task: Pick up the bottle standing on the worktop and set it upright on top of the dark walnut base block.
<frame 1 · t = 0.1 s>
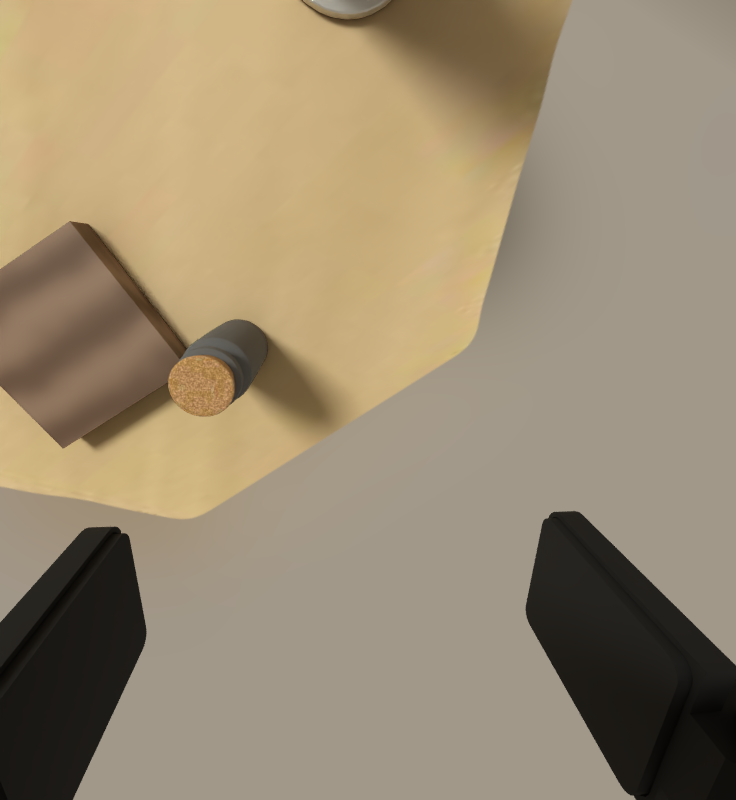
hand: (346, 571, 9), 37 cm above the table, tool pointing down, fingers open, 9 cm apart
base: (83, 338, 42), on the table
bottle: (240, 345, 44), on the table
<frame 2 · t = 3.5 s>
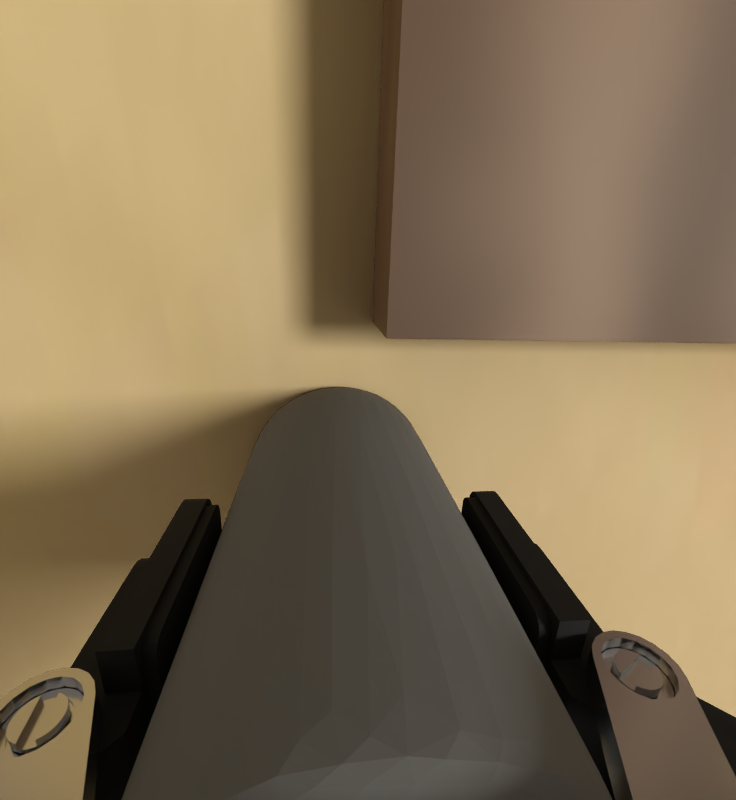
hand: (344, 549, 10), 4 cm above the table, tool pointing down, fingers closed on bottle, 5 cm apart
base: (679, 25, 11), on the table
bottle: (338, 462, 14), on the table, touching gripper
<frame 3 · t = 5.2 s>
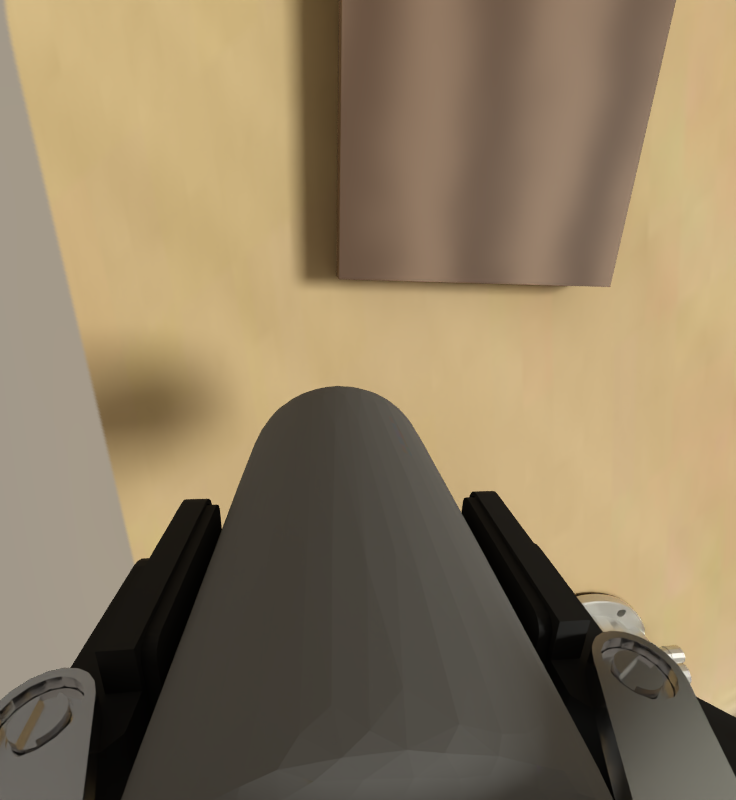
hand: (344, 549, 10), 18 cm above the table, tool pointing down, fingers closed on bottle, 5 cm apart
base: (478, 133, 23), on the table
bottle: (338, 461, 14), point 13 cm above the table, touching gripper
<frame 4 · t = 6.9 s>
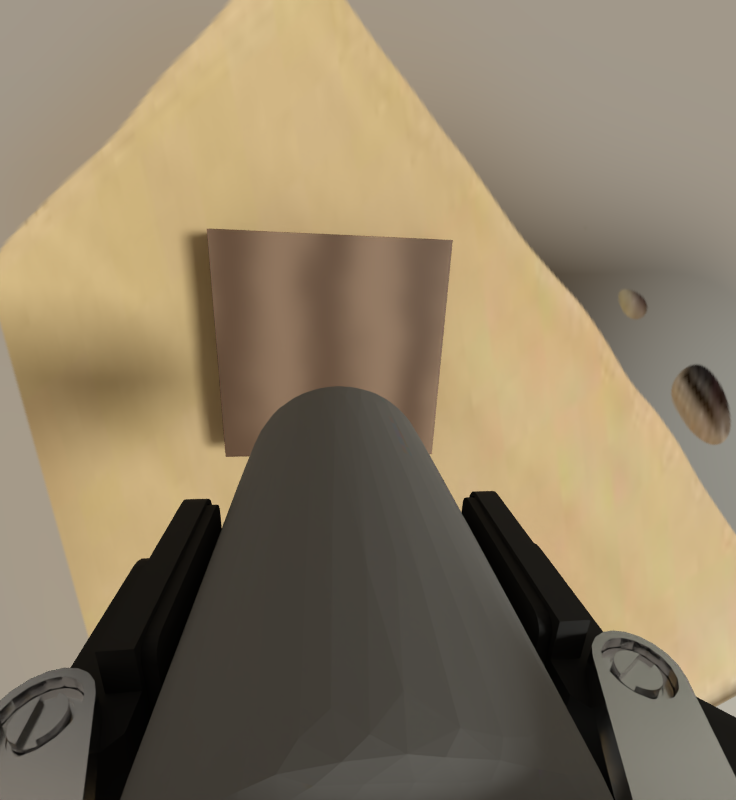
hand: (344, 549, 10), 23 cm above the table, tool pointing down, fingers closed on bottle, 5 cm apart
base: (331, 346, 32), on the table
bottle: (338, 461, 14), point 19 cm above the table, touching gripper
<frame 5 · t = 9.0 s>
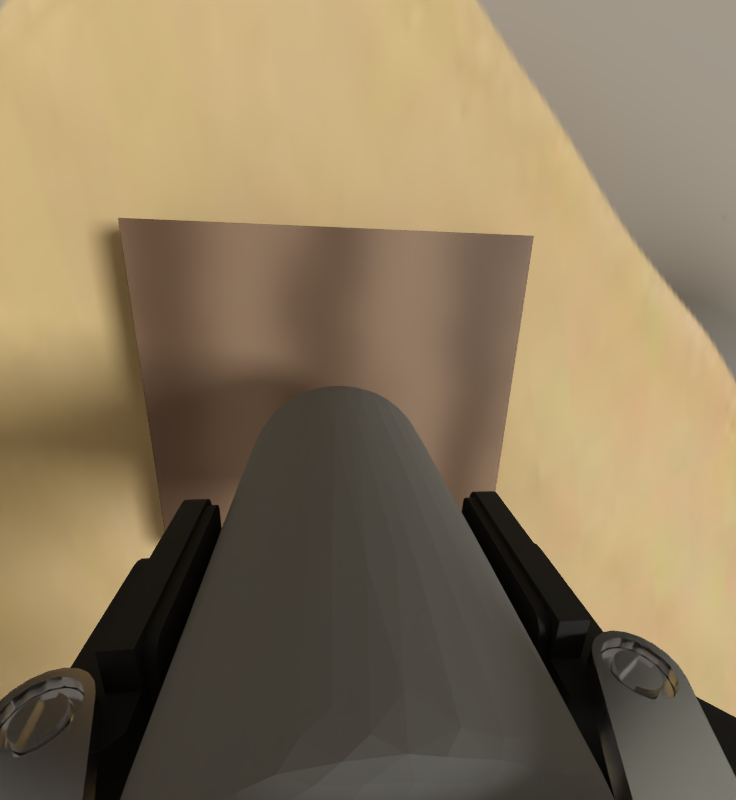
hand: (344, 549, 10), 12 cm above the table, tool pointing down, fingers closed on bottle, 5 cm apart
base: (334, 398, 21), on the table
bottle: (338, 461, 14), point 7 cm above the table, touching gripper
when the fingers open (9 cm above the table, at t = 10.5 s): bottle drops 1 cm, resting on base.
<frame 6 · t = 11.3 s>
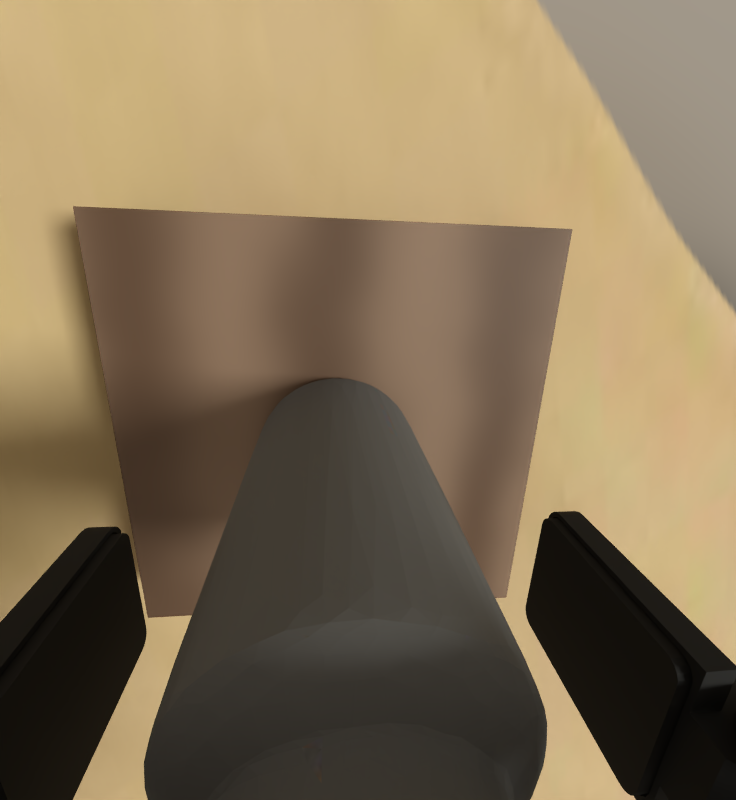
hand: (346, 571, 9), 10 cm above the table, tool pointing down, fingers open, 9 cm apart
base: (334, 416, 18), on the table
bottle: (336, 446, 16), point 3 cm above the table, touching base
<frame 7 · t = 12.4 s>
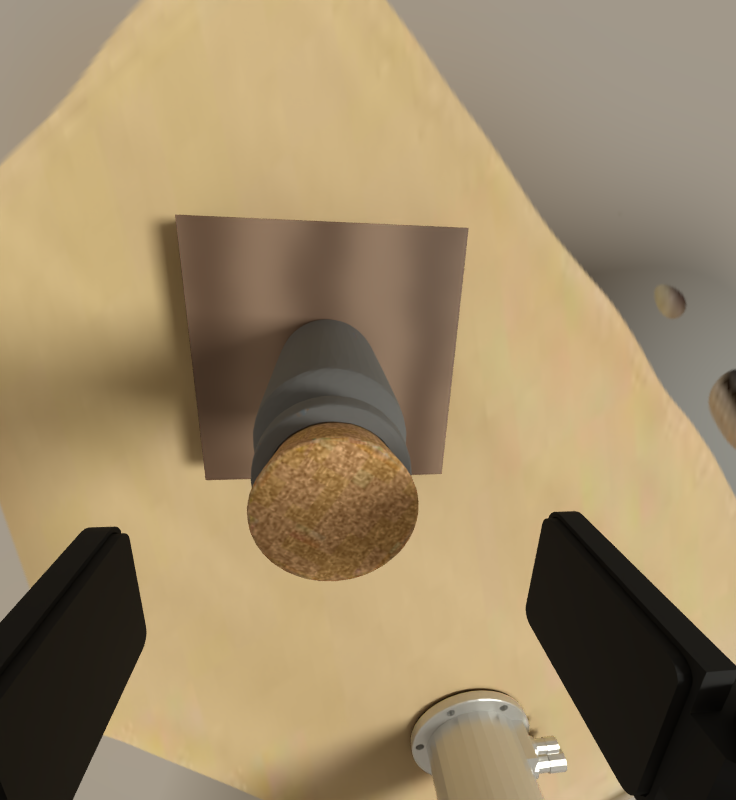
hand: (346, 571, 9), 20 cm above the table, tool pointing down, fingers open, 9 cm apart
base: (326, 351, 28), on the table
bottle: (327, 364, 25), point 3 cm above the table, touching base
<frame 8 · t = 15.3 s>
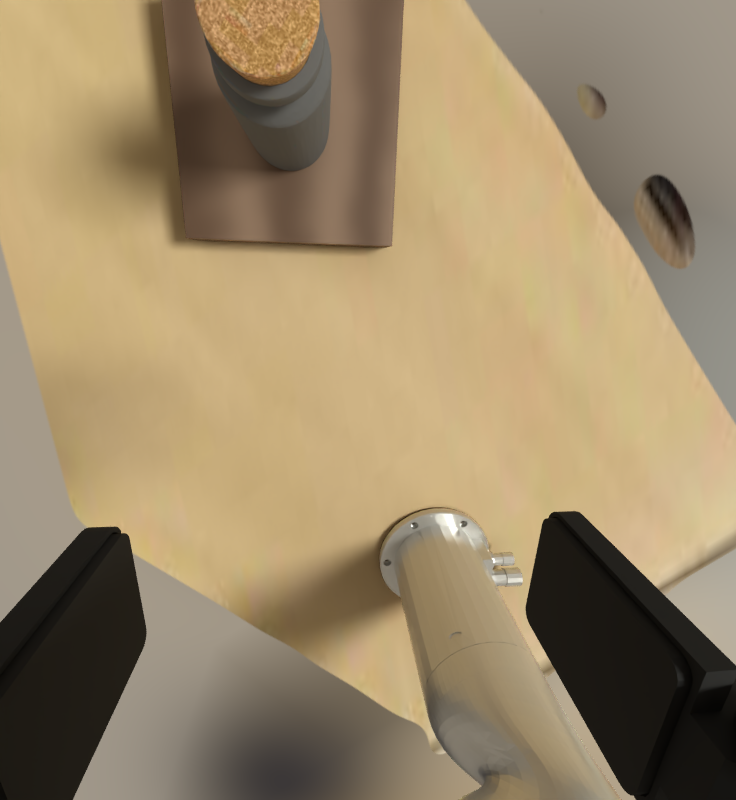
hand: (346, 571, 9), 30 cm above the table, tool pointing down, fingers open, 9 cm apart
base: (291, 135, 32), on the table
bottle: (289, 127, 30), point 3 cm above the table, touching base
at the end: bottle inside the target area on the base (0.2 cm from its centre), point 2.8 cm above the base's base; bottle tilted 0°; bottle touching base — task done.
